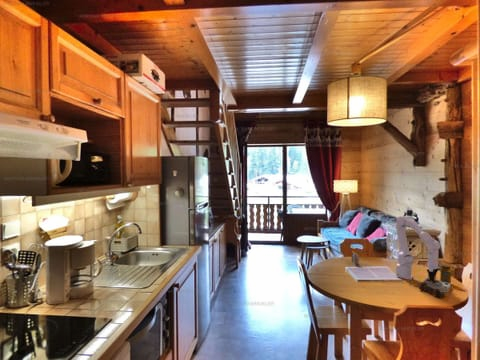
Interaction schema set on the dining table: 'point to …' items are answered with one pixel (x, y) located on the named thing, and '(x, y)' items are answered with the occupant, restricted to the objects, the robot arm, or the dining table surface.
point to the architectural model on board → (355, 258)
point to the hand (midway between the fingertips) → (432, 279)
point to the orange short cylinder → (432, 281)
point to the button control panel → (438, 285)
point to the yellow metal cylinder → (445, 274)
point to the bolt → (431, 290)
